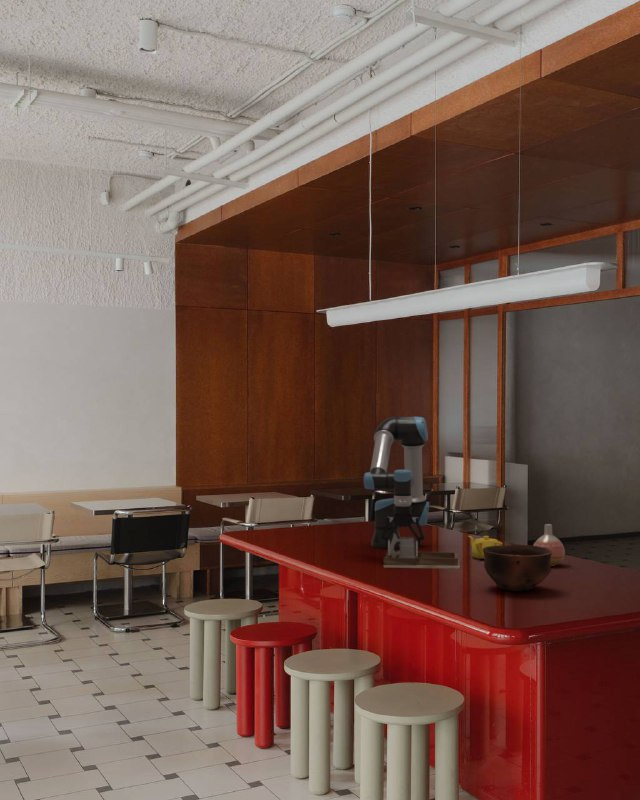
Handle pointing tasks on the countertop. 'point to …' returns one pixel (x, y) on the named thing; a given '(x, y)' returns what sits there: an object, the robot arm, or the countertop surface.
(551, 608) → the countertop surface
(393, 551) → the mug
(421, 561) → the rimmed tray
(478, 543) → the teapot
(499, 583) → the bowl
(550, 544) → the vase
